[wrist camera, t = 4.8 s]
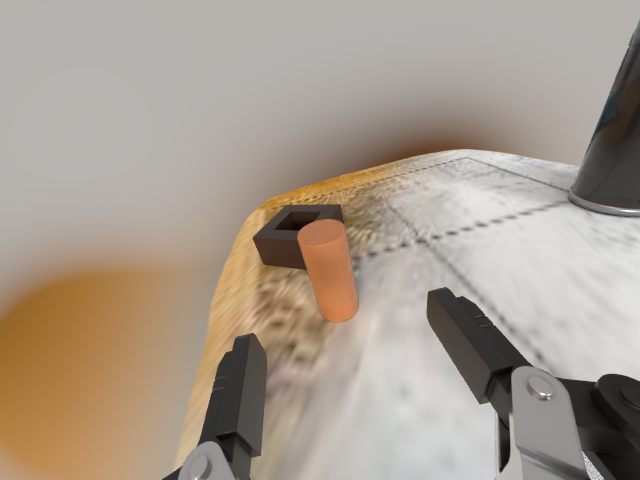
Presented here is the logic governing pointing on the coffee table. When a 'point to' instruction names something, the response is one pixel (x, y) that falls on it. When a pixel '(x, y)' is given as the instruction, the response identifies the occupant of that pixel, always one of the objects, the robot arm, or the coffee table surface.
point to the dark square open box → (290, 233)
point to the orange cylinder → (329, 268)
